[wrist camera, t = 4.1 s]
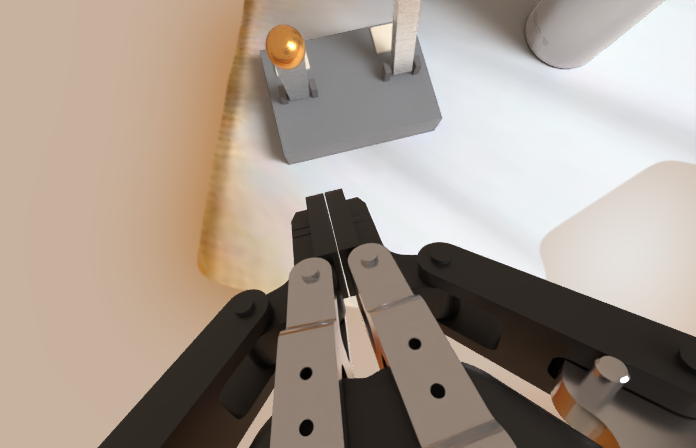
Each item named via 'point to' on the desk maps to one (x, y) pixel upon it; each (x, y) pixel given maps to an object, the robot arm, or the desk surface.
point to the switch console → (352, 96)
